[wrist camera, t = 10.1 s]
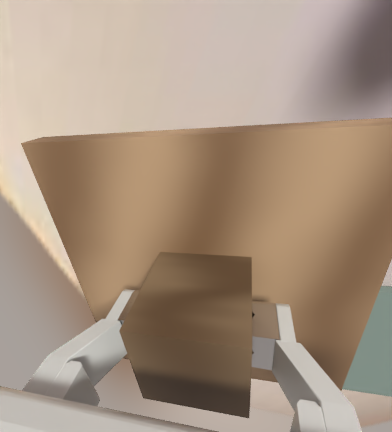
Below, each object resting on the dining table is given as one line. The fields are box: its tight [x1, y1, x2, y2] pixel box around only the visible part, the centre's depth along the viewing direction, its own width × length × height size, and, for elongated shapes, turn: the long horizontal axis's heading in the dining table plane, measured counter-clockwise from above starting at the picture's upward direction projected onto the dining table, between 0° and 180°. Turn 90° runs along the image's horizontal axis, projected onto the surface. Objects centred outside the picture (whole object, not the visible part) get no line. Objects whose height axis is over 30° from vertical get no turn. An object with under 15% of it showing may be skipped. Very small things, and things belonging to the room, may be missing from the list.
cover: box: [21, 118, 392, 418], centre depth 10 cm, size 14×14×5 cm
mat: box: [342, 286, 392, 397], centre depth 26 cm, size 16×16×1 cm
